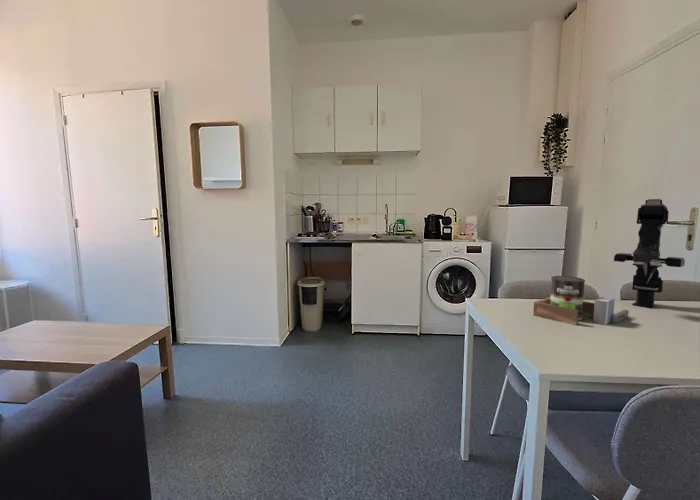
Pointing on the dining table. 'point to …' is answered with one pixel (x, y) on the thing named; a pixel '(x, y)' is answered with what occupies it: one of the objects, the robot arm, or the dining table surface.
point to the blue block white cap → (603, 310)
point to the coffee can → (567, 293)
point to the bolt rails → (619, 316)
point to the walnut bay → (561, 311)
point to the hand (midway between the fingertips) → (645, 283)
